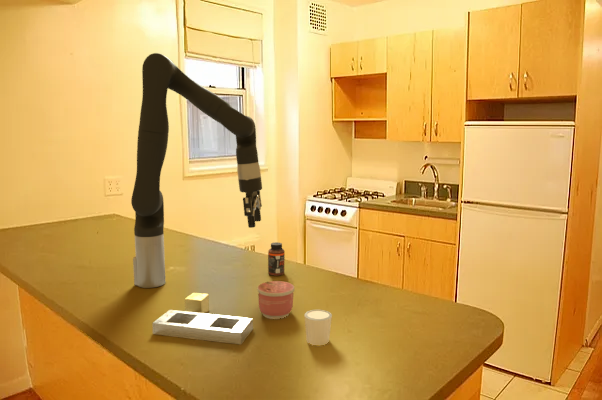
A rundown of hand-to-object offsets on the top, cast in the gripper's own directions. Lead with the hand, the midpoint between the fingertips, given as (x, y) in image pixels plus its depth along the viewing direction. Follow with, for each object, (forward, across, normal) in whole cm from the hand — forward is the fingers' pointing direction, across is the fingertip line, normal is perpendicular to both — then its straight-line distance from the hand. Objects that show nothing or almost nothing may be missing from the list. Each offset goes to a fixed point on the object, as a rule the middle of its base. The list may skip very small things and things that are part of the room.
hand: (255, 224), depth 156 cm
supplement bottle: (+22, -10, +3) cm, 24 cm away
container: (+21, +26, +10) cm, 35 cm away
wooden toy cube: (+18, +29, -12) cm, 37 cm away
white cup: (+22, +42, +24) cm, 52 cm away
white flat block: (+18, +41, -6) cm, 45 cm away
